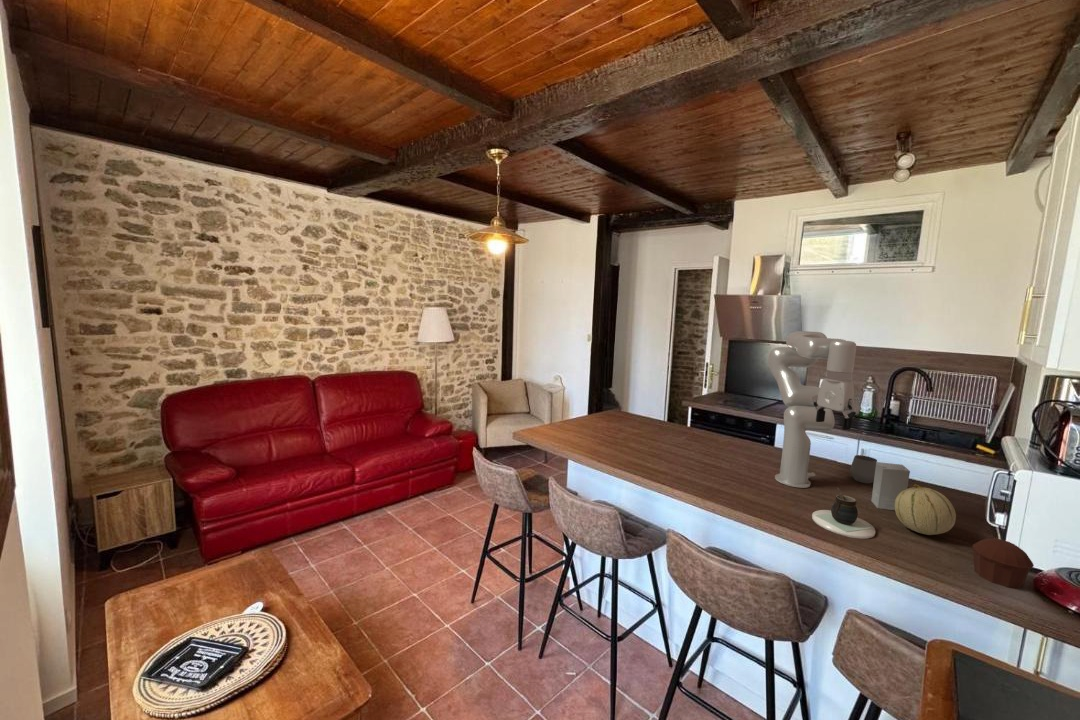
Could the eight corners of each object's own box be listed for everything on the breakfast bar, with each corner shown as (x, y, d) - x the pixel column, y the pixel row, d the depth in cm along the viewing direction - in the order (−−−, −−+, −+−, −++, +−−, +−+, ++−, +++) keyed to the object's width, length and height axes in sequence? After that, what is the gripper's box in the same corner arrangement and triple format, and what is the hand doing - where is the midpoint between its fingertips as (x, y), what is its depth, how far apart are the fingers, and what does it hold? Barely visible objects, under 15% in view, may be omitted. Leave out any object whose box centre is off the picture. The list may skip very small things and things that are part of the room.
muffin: (1032, 598, 109) (1039, 560, 107) (970, 578, 116) (976, 543, 115) (1024, 577, 117) (1031, 542, 116) (967, 560, 125) (973, 527, 123)
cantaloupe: (957, 549, 130) (965, 501, 129) (895, 534, 138) (902, 489, 136) (944, 529, 143) (952, 485, 141) (888, 516, 151) (894, 474, 149)
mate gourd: (844, 527, 138) (848, 497, 137) (823, 516, 145) (826, 488, 144) (862, 525, 140) (865, 496, 139) (840, 515, 147) (844, 486, 146)
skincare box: (896, 505, 160) (902, 463, 158) (905, 513, 153) (912, 470, 151) (869, 501, 163) (875, 460, 161) (876, 509, 156) (883, 466, 154)
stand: (837, 510, 153) (838, 507, 153) (888, 535, 137) (889, 531, 137) (800, 515, 148) (800, 511, 148) (847, 541, 132) (848, 537, 132)
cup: (852, 483, 180) (855, 459, 179) (846, 475, 189) (849, 453, 187) (880, 487, 176) (883, 463, 175) (872, 479, 185) (875, 456, 184)
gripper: (808, 372, 156) (802, 419, 158) (855, 381, 139) (848, 433, 141) (824, 372, 158) (818, 418, 160) (872, 381, 141) (865, 432, 143)
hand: (832, 425), depth 151 cm, fingers open, 9 cm apart
